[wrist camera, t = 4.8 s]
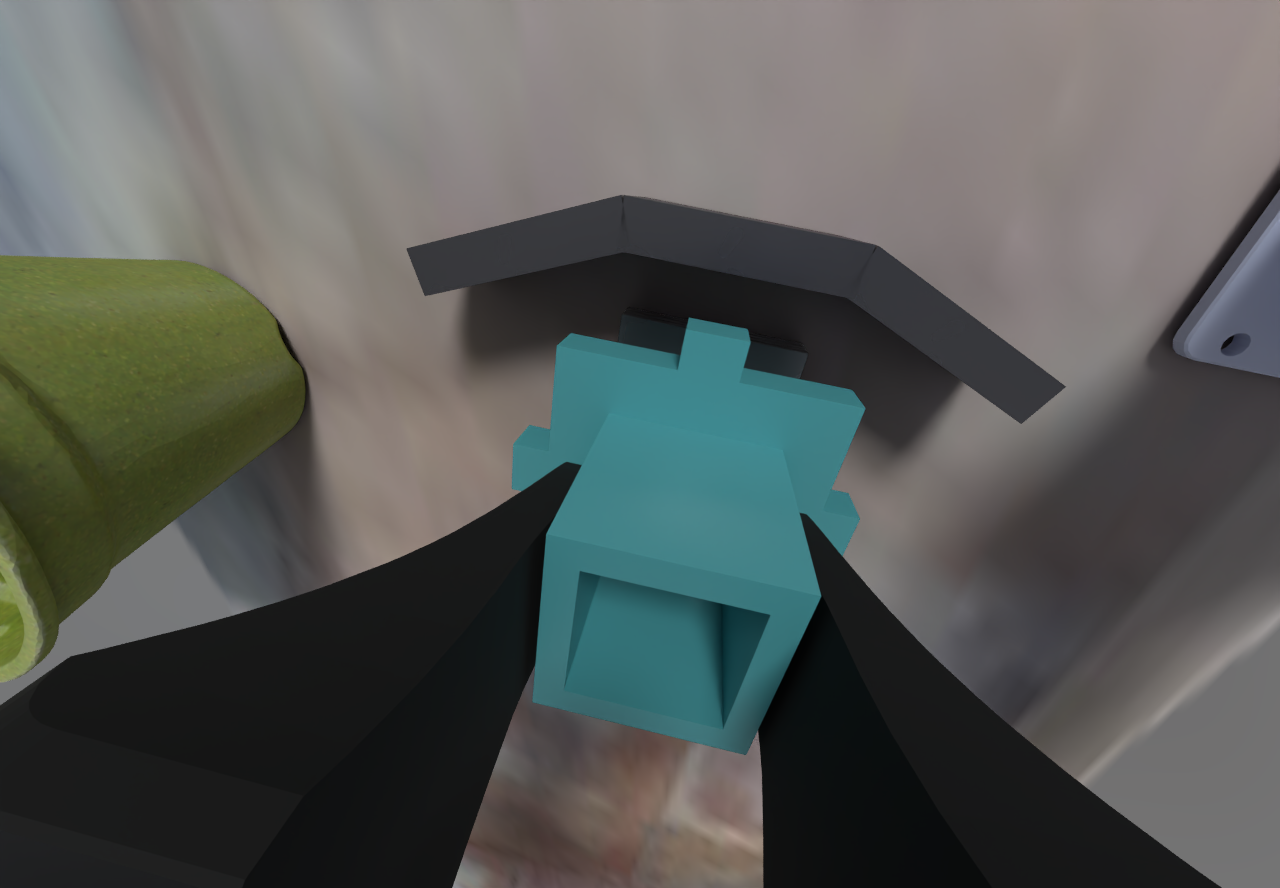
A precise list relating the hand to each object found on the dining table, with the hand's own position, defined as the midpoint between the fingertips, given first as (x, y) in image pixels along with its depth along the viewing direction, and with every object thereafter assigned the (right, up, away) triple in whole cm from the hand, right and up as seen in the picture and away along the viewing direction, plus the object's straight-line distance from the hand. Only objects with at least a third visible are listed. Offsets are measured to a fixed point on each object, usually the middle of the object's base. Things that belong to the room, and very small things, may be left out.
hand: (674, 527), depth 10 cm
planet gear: (0, +1, +2) cm, 2 cm away
